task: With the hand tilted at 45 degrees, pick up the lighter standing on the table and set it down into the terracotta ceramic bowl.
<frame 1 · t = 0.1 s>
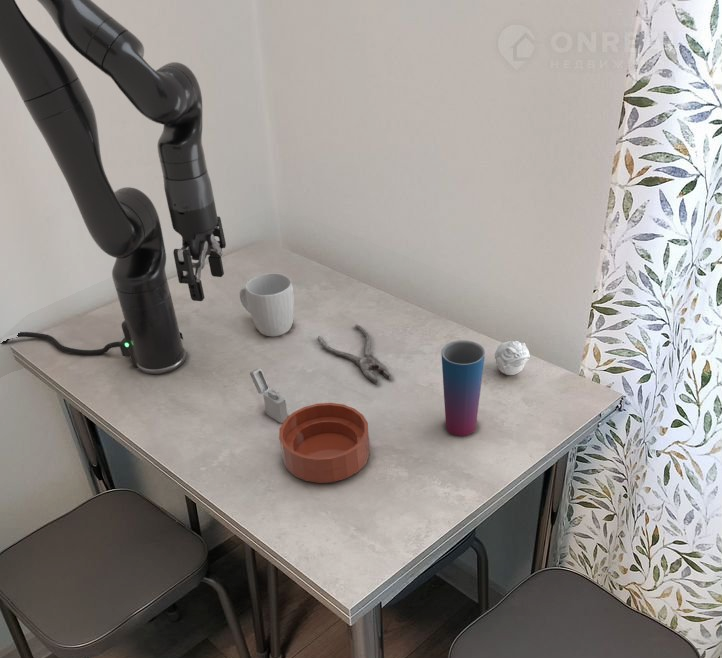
hand: (208, 287, 143), 17 cm above the table, tool pointing down, fingers open, 8 cm apart
lighter: (271, 413, 143), on the table
mug: (268, 326, 165), on the table
pliers: (364, 353, 155), on the table
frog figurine: (510, 374, 147), on the table
cup: (460, 427, 137), on the table
bowl: (326, 455, 133), on the table
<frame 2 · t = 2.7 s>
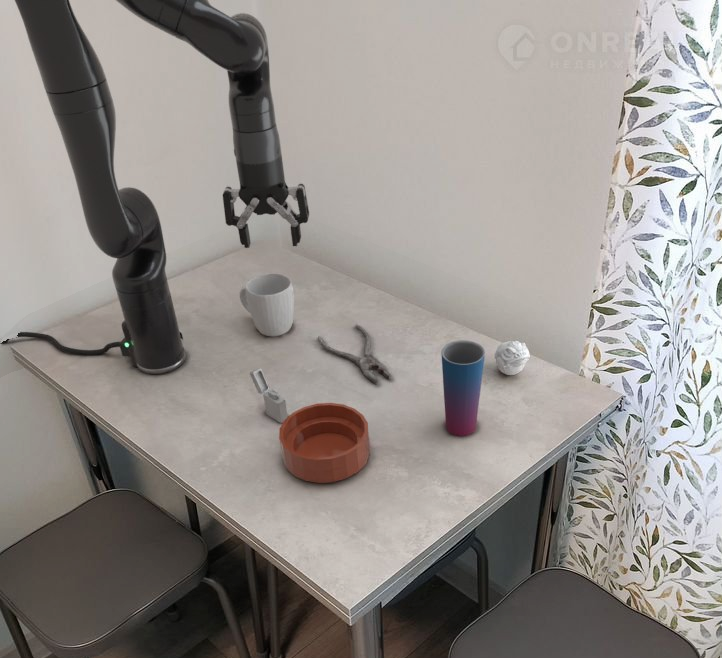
hand: (271, 245, 143), 22 cm above the table, tool pointing down, fingers open, 8 cm apart
nothing on the table moved.
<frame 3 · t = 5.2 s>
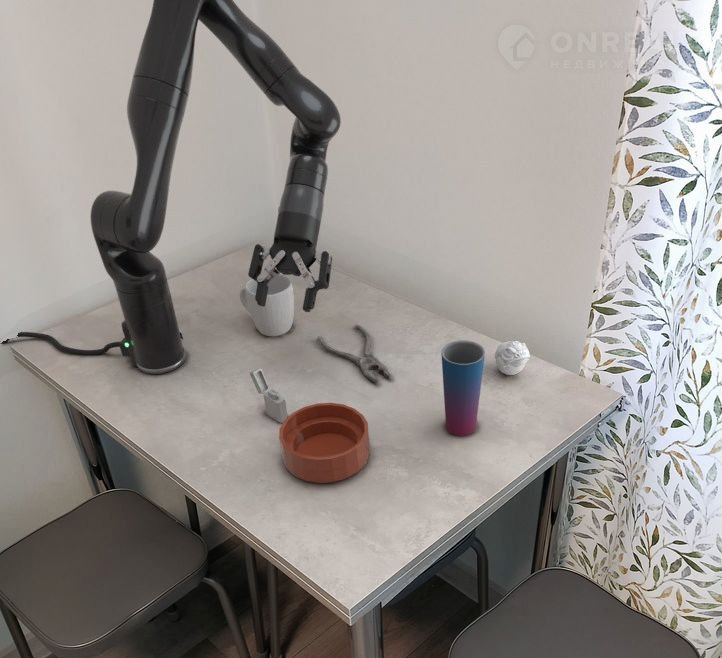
hand: (283, 308, 141), 15 cm above the table, tool tilted 45°, fingers open, 8 cm apart
nothing on the table moved.
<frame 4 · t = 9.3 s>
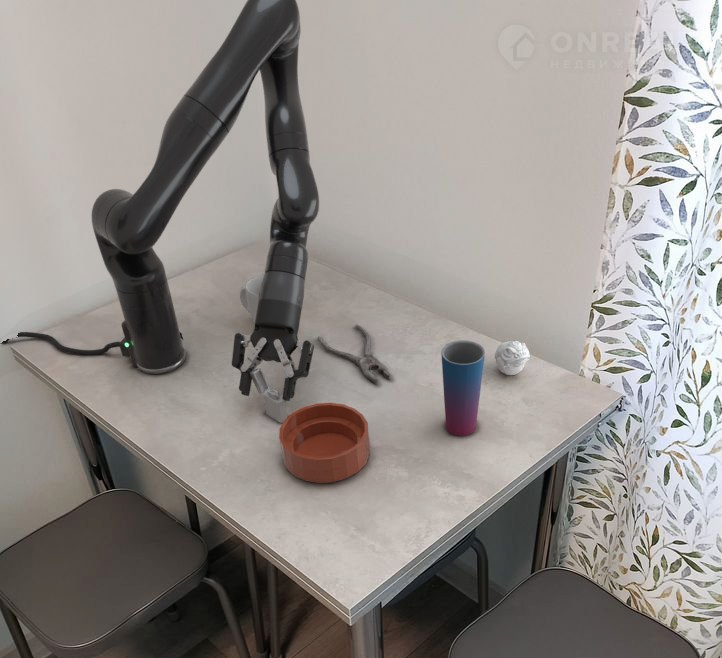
hand: (265, 397, 138), 4 cm above the table, tool tilted 45°, fingers closed on lighter, 7 cm apart
lighter: (271, 413, 143), on the table, touching gripper
everything else where it was.
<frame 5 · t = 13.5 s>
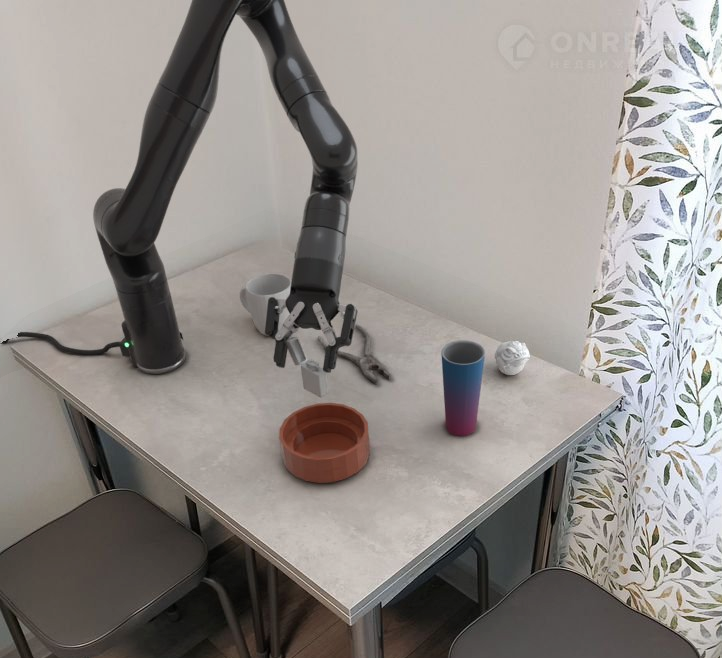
hand: (303, 369, 123), 16 cm above the table, tool tilted 45°, fingers closed on lighter, 7 cm apart
lighter: (309, 387, 128), point 12 cm above the table, touching gripper
everything else where it was.
when the fingers open (5 cm above the table, at t = 17.7 s): lighter stays where it is, resting on bowl.
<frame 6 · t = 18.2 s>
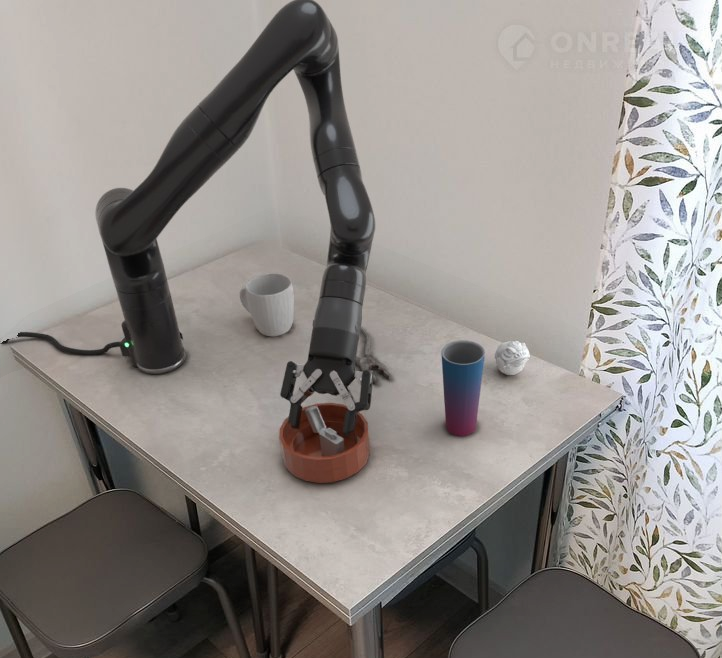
hand: (320, 431, 128), 6 cm above the table, tool tilted 45°, fingers open, 8 cm apart
lighter: (327, 453, 133), resting on bowl
everything else where it was.
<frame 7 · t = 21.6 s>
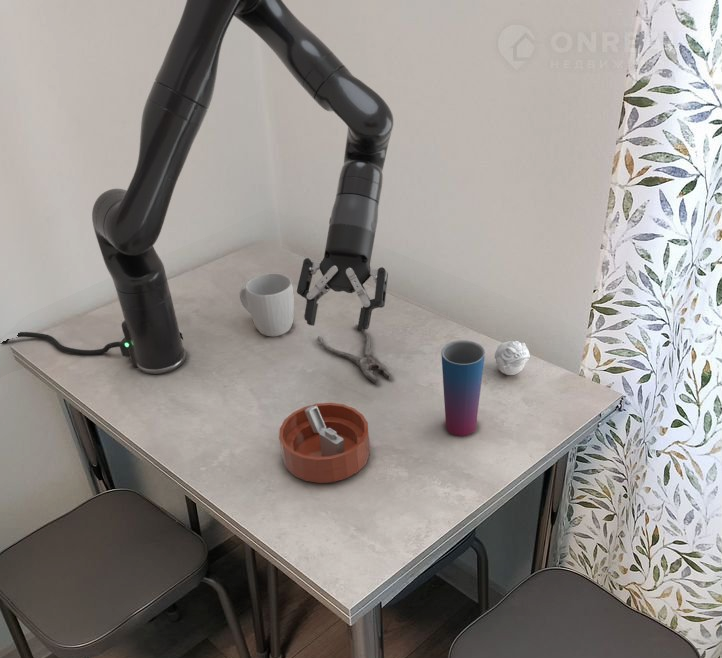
hand: (335, 328, 131), 17 cm above the table, tool tilted 40°, fingers open, 8 cm apart
nothing on the table moved.
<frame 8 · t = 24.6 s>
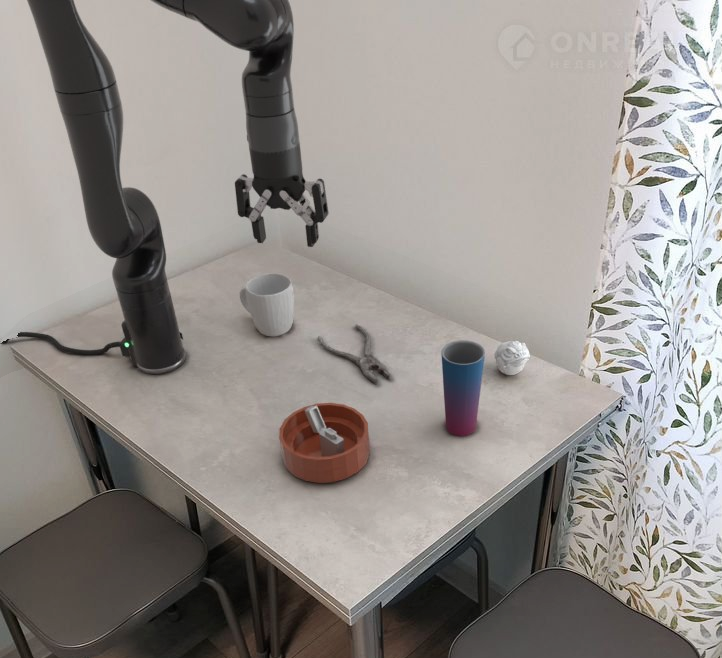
hand: (286, 242, 130), 28 cm above the table, tool pointing down, fingers open, 8 cm apart
nothing on the table moved.
at the end: lighter inside the target area in the bowl (0.2 cm from its centre), point 0.4 cm above the bowl's base; the gripper is holding nothing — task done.
